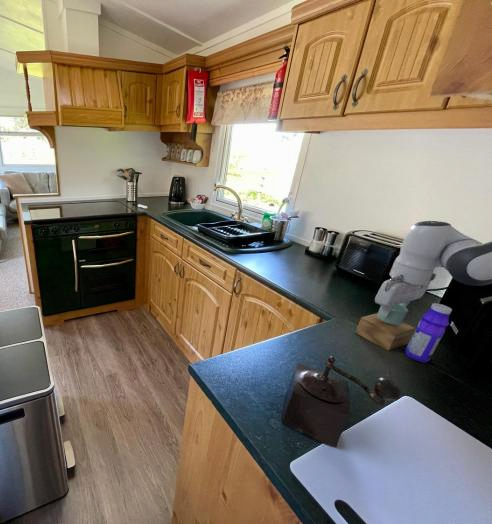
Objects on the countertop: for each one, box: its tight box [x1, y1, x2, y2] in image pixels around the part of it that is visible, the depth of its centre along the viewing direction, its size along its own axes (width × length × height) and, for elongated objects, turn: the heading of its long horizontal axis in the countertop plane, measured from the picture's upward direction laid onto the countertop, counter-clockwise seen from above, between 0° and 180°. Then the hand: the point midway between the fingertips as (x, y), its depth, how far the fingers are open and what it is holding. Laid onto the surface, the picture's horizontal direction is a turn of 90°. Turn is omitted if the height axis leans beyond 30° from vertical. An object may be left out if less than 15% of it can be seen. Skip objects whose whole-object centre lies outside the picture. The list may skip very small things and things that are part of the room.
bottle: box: [404, 302, 453, 364], centre depth 84 cm, size 7×6×17 cm
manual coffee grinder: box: [280, 355, 402, 448], centre depth 59 cm, size 16×11×18 cm
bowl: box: [376, 304, 409, 325], centre depth 92 cm, size 6×6×5 cm
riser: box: [354, 312, 416, 352], centre depth 94 cm, size 10×11×6 cm
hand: (391, 313), depth 92 cm, fingers closed on bowl, 6 cm apart
